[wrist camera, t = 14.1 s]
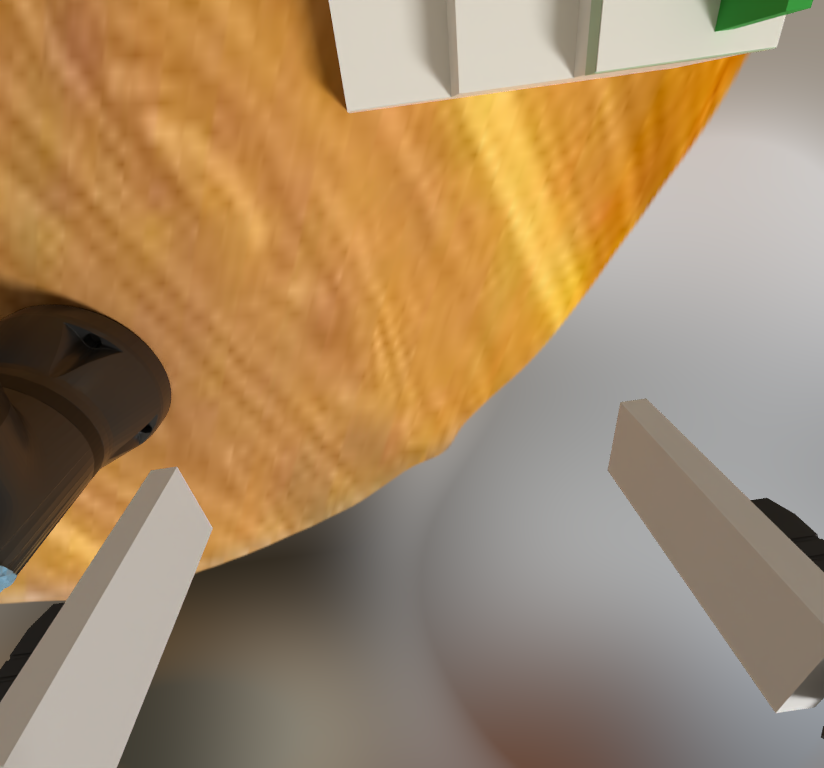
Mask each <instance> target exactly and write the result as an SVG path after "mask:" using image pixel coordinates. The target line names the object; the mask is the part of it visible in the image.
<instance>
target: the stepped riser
mask: <svg viewBox="0 0 824 768" xmlns="http://www.w3.org/2000/svg"><path fill="white" fill-rule="evenodd" d="M720 3H721V0H329V6H330V12H331V18H332V24H333V30H334V35H335V41H336V47H337V53H338V59H339V65H340V71H341V77H342V83H343V89H344V95H345V101H346V107H347V112H349V113H355V112H362V111H369V110H376V109H383V108H391V107H398V106H405V105H412V104H419V103H426V102H434V101H441V100H448V99H455V98H462V97H469V96H477V95H484V94H491V93H498V92H505V91H512V90H520V89H527V88H534V87H541V86H548V85H555V84H563V83H570V82H577V81H584V80H591V79H599V78H606V77H613V76H620V75H627V74H634V73H642V72H649V71H656V70H663V69H670V68H676V67H681V66H686V65H691V64H696V63H701V62H705V61H710V60H715V59H720V58H725V57H730V56H734V55H739V54H745V53H752V52H759V51H764V50H768V49H773V48H776V47H777V45H778V41H779V37H780V34H781V30H782V27H783V23H784V20H785V16H786V15H783V16H779V17H776V18H772V19H769V20H765V21H761V22H758V23H754V24H751V25H747V26H743V27H740V28H736V29H731V30H724V31H717V32H715V27H716V22H717V17H718V12H719V8H720Z"/></svg>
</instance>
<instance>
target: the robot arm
mask: <svg viewBox="0 0 824 768" xmlns="http://www.w3.org/2000/svg"><path fill="white" fill-rule="evenodd" d="M170 403H171V388H170V383H169V379H168V376H167V374H166V372H165V370H164V368H163V366H162V364H161V362H160V361H159V359H158V358H157V357H156V355H155V354H154V353H153V352H152V350H151V349H150V348H149V347H148V346H147V345H146V344H145V343H144V342H143V341H142V340H141V339H139V338H138V337H137V336H136V335H135V334H133V333H132V332H131V331H129V330H128V329H126V328H125V327H123V326H122V325H120V324H118V323H116V322H115V321H113V320H111V319H109V318H106V317H104V316H102V315H100V314H97V313H94V312H91V311H88V310H85V309H81V308H77V307H72V306H65V305H38V306H32V307H28V308H25V309H22V310H19V311H17V312H15V313H13V314H11V315H9V316H7V317H5V318H3V319H1V320H0V592H1V591H2V590H3V589H4V588H7V587H8V586H10V585H11V584H12V583H13V582H14V581H15V579H16V577H17V575H18V573H19V572H20V571H21V570H22V568H23V567H24V566H25V564H26V563H27V562H28V561H29V559H30V558H31V557H32V555H33V554H34V553H35V552H36V550H37V549H38V548H39V546H40V545H41V544H42V543H43V541H44V540H45V539H46V537H47V536H48V535H49V534H50V532H51V531H52V530H53V528H54V527H55V526H56V524H57V523H58V522H59V521H60V519H61V518H62V517H63V515H64V514H65V513H66V512H67V510H68V509H69V508H70V506H71V505H72V504H73V503H74V501H75V500H76V499H77V497H78V496H79V495H80V494H81V492H82V491H83V490H84V488H85V487H86V486H87V485H88V483H89V482H90V480H91V479H92V478H93V477H94V476H95V474H96V473H97V472H98V471H99V469H101V468H102V467H104V466H106V465H107V464H109V463H111V462H112V461H114V460H116V459H117V458H119V457H121V456H122V455H124V454H126V453H127V452H129V451H131V450H132V449H134V448H136V447H137V446H139V445H141V444H142V443H143V442H145V441H146V440H147V439H148V438H149V437H150V436H151V435H152V434H153V433H154V432H155V431H156V429H157V428H158V427H159V425H160V424H161V423H162V421H163V420H164V418H165V417H166V415H167V413H168V411H169V408H170ZM608 471H609V473H610V474H611V476H612V477H613V479H614V480H615V482H616V483H617V485H618V486H619V487H620V489H621V490H622V492H623V493H624V495H625V496H626V497H627V499H628V500H629V501H630V503H631V505H632V506H633V508H634V509H635V511H636V512H637V513H638V515H639V516H640V518H641V519H642V520H643V522H644V524H645V525H646V526H647V528H648V529H649V531H650V532H651V534H652V535H653V537H654V538H655V539H656V541H657V542H658V544H659V545H660V547H661V548H662V549H663V551H664V552H665V554H666V555H667V557H668V558H669V559H670V561H671V562H672V564H673V565H674V567H675V568H676V570H677V571H678V573H679V574H680V575H681V577H682V578H683V580H684V581H685V583H686V584H687V586H688V587H689V588H690V590H691V591H692V593H693V594H694V596H695V597H696V599H697V600H698V602H699V603H700V604H701V606H702V607H703V608H704V610H705V612H706V613H707V614H708V616H709V617H710V619H711V620H712V622H713V623H714V625H715V626H716V628H717V629H718V630H719V632H720V633H721V635H722V636H723V637H724V639H725V641H726V642H727V643H728V645H729V646H730V648H731V649H732V651H733V652H734V654H735V655H736V656H737V658H738V659H739V661H740V662H741V664H742V665H743V666H744V668H745V669H746V671H747V672H748V674H749V675H750V677H751V678H752V680H753V681H754V682H755V684H756V685H757V687H758V688H759V690H760V691H761V693H762V694H763V695H764V697H765V698H766V700H767V701H768V702H769V704H770V706H771V707H772V708H773V710H774V711H775V712H776V713H779V712H786V711H792V710H799V709H805V708H812V707H815V706H816V705H817V704H818V703H819V702H820V701H821V700H822V699H823V698H824V540H823V539H819V538H818V535H817V534H816V533H815V532H814V531H813V530H812V529H811V528H810V527H809V526H807V525H806V524H805V523H804V522H803V521H802V520H801V519H800V518H799V517H797V516H796V515H795V514H794V513H792V512H790V511H789V510H787V509H785V508H783V507H782V506H780V505H778V504H777V503H775V502H773V501H771V500H770V499H768V498H763V499H756V500H749V499H748V498H747V497H746V496H745V495H744V494H743V493H742V492H741V491H740V490H739V489H738V488H737V487H736V486H735V485H734V484H733V483H732V482H731V481H730V480H729V479H728V478H727V477H726V476H725V475H724V474H723V473H722V472H721V471H719V469H718V468H716V467H715V465H714V464H713V463H712V462H711V461H709V460H708V459H707V458H706V457H705V456H704V455H703V454H702V453H701V452H700V451H699V450H698V449H697V448H696V447H695V446H694V445H693V444H692V443H691V442H690V441H689V440H688V439H687V438H686V437H685V436H684V435H683V434H682V433H681V432H680V431H679V430H678V429H677V428H676V427H675V426H674V425H673V424H672V423H671V422H670V421H669V420H668V419H667V418H665V416H664V415H663V414H662V413H660V412H659V411H658V410H657V409H656V408H655V407H654V406H653V405H652V404H651V403H650V402H649V401H648V400H647V399H640V400H633V401H626V402H621V403H620V409H619V413H618V418H617V424H616V429H615V435H614V440H613V445H612V451H611V455H610V461H609V466H608ZM212 529H213V528H212V526H211V524H210V523H209V521H208V519H207V518H206V516H205V514H204V512H203V511H202V509H201V507H200V505H199V504H198V502H197V500H196V499H195V497H194V495H193V493H192V492H191V490H190V488H189V486H188V485H187V483H186V481H185V479H184V478H183V476H182V474H181V473H180V471H179V469H178V467H172V468H165V469H158V470H151V471H150V473H149V474H148V476H147V477H146V479H145V481H144V482H143V484H142V485H141V487H140V488H139V490H138V491H137V493H136V494H135V496H134V497H133V499H132V501H131V502H130V504H129V505H128V507H127V508H126V510H125V511H124V513H123V514H122V516H121V517H120V519H119V520H118V522H117V524H116V525H115V527H114V528H113V530H112V531H111V533H110V534H109V536H108V537H107V539H106V540H105V542H104V544H103V545H102V547H101V548H100V550H99V551H98V553H97V554H96V556H95V557H94V559H93V560H92V562H91V564H90V565H89V567H88V568H87V570H86V571H85V573H84V574H83V576H82V577H81V579H80V580H79V582H78V584H77V585H76V587H75V588H74V590H73V591H72V593H71V594H70V596H69V597H68V599H67V600H66V602H65V603H59V604H53V605H52V606H51V607H50V608H49V609H48V610H47V611H46V612H45V613H44V614H43V615H42V616H41V617H40V618H39V619H38V620H37V621H36V622H35V623H34V624H33V625H32V626H31V627H30V628H29V629H28V630H27V632H26V633H25V635H24V636H23V637H22V639H21V640H20V642H19V643H18V645H17V646H16V648H15V649H14V651H13V652H12V653H11V655H10V660H9V661H6V662H5V664H4V665H3V666H2V668H1V669H0V768H117V765H118V763H119V760H120V758H121V755H122V753H123V751H124V748H125V746H126V743H127V741H128V738H129V735H130V733H131V730H132V728H133V726H134V723H135V721H136V718H137V715H138V713H139V711H140V708H141V706H142V703H143V701H144V698H145V696H146V693H147V691H148V688H149V686H150V683H151V680H152V678H153V676H154V673H155V671H156V668H157V666H158V663H159V661H160V658H161V655H162V653H163V651H164V648H165V646H166V643H167V641H168V638H169V635H170V633H171V631H172V628H173V626H174V623H175V621H176V618H177V616H178V613H179V611H180V608H181V606H182V603H183V601H184V598H185V596H186V593H187V591H188V588H189V586H190V583H191V581H192V579H193V576H194V574H195V571H196V569H197V566H198V564H199V561H200V559H201V556H202V554H203V551H204V549H205V546H206V544H207V541H208V539H209V536H210V534H211V531H212ZM821 738H823V739H824V726H823V730H822V735H821Z"/></svg>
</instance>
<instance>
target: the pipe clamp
mask: <svg viewBox="0 0 824 768" xmlns="http://www.w3.org/2000/svg"><path fill="white" fill-rule="evenodd" d="M812 2H813V0H721V3H720V8H719V12H718V17H717V22H716V27H715V32H717V31H724V30H731V29H736V28H740V27H743V26H747V25H751V24H754V23H758V22H761V21H765V20H769V19H772V18H776V17H779V16H783V15H786V14H790V13H794V12H797V11H801V10H804V9H808V8H811V5H812Z"/></svg>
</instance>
